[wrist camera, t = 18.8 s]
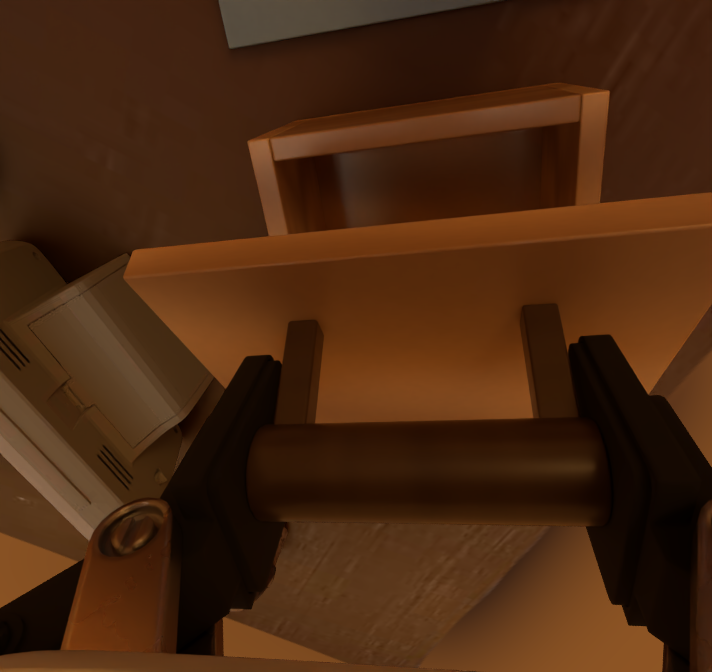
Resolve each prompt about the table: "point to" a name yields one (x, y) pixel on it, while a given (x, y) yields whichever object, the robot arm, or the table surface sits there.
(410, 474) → the lid
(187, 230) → the table surface
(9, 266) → the digital clock
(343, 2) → the mat
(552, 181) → the pencil box
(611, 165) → the table surface
